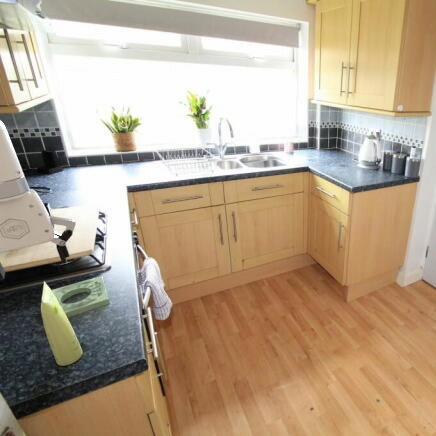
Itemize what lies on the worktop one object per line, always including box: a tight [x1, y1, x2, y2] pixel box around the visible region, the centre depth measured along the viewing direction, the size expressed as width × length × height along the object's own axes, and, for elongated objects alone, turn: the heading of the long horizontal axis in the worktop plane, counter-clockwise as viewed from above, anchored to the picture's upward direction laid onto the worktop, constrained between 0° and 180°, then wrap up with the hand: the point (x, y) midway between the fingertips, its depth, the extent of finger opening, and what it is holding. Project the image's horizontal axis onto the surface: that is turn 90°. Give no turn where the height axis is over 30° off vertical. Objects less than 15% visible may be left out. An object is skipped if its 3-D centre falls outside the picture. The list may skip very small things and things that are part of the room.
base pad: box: [51, 275, 111, 319], centre depth 91 cm, size 14×14×3 cm
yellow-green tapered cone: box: [40, 280, 84, 367], centre depth 70 cm, size 6×5×20 cm
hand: (34, 268), depth 64 cm, fingers open, 9 cm apart
